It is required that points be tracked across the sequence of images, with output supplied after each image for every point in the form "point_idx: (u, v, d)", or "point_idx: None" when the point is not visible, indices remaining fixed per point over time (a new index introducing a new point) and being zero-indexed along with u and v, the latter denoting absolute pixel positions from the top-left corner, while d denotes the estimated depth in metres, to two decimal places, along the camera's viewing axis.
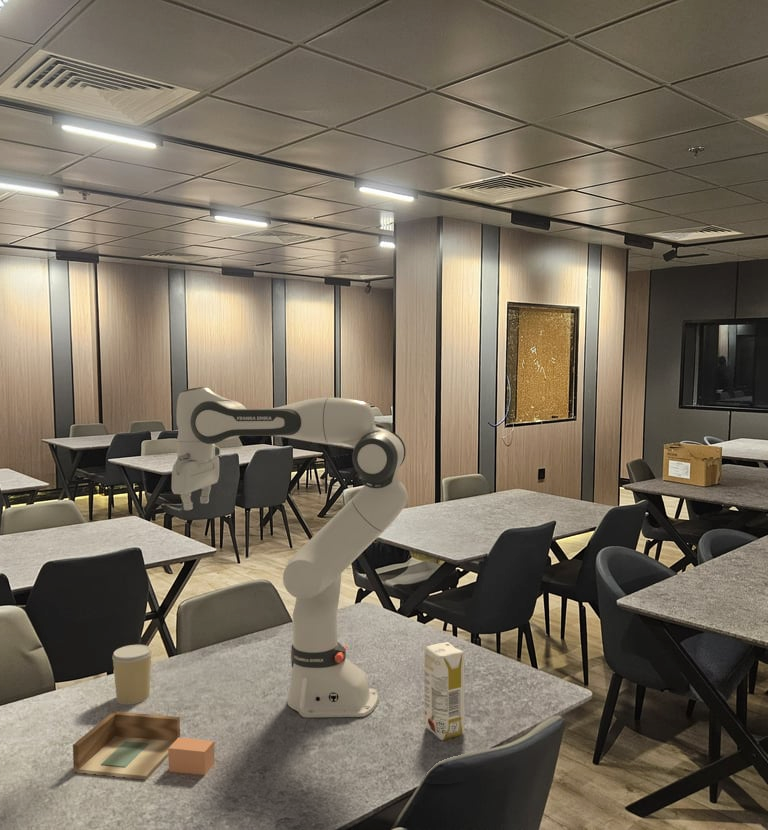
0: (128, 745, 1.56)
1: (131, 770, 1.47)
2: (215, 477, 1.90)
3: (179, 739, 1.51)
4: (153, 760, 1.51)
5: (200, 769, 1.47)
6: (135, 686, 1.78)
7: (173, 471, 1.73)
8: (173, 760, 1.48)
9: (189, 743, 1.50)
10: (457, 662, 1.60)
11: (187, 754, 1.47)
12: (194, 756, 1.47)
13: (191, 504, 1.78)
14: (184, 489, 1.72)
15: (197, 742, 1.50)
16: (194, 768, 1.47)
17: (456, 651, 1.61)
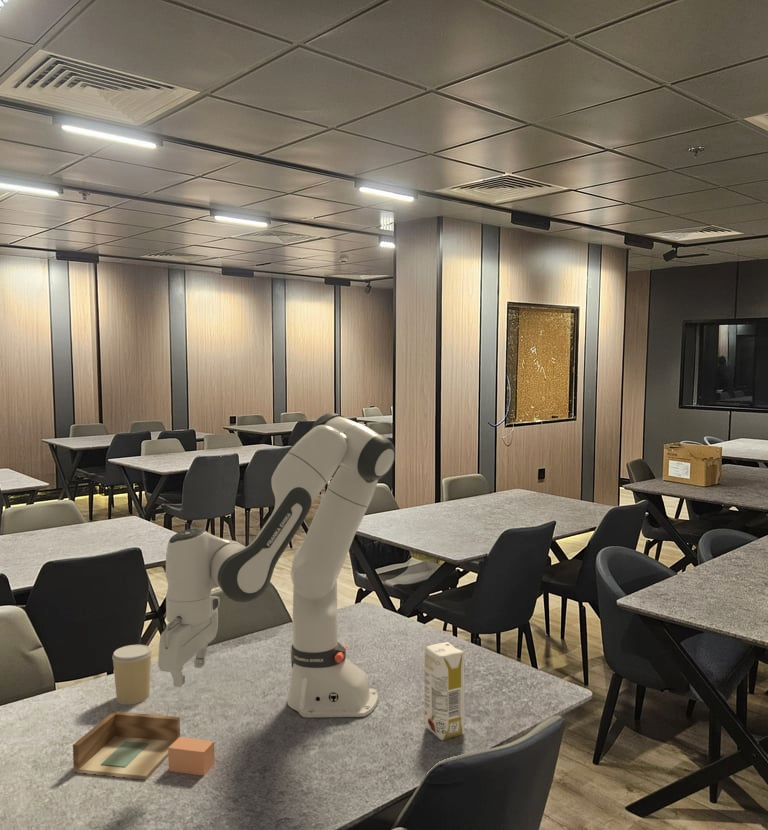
0: (128, 745, 1.56)
1: (131, 770, 1.47)
2: (213, 633, 1.55)
3: (179, 738, 1.52)
4: (153, 760, 1.51)
5: (199, 769, 1.47)
6: (135, 686, 1.78)
7: (161, 643, 1.39)
8: (173, 760, 1.48)
9: (189, 743, 1.50)
10: (457, 662, 1.60)
11: (186, 754, 1.47)
12: (193, 756, 1.47)
13: (183, 678, 1.44)
14: (174, 667, 1.38)
15: (197, 742, 1.50)
16: (193, 768, 1.47)
17: (456, 651, 1.61)
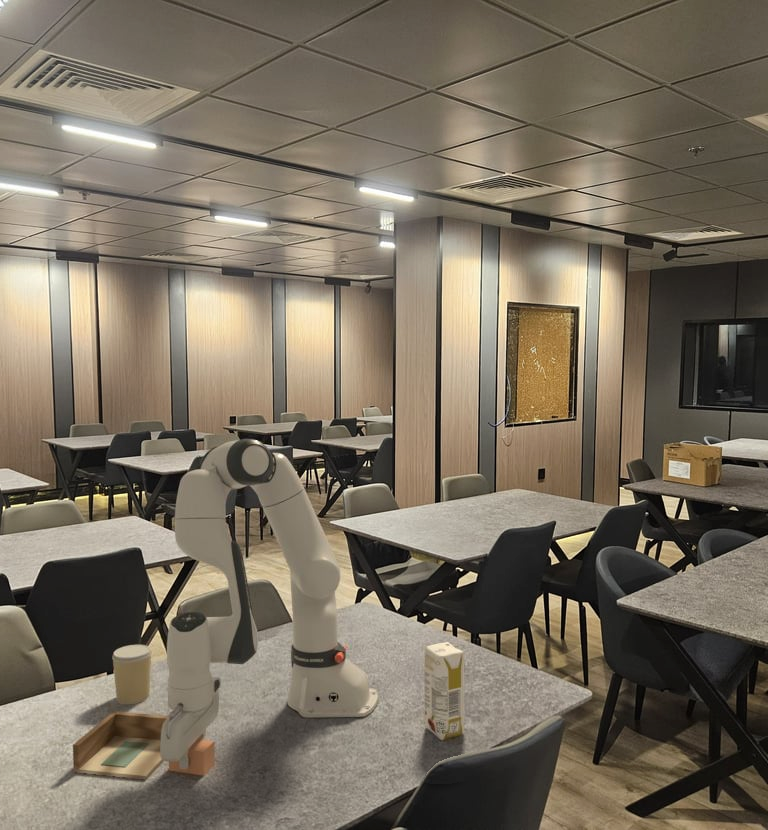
0: (128, 745, 1.56)
1: (131, 770, 1.47)
2: (214, 713, 1.56)
3: None
4: (153, 760, 1.51)
5: (199, 769, 1.46)
6: (135, 686, 1.78)
7: (162, 733, 1.40)
8: None
9: None
10: (457, 662, 1.60)
11: None
12: (193, 755, 1.47)
13: (189, 760, 1.46)
14: (176, 757, 1.39)
15: (197, 741, 1.50)
16: (193, 768, 1.47)
17: (456, 651, 1.61)
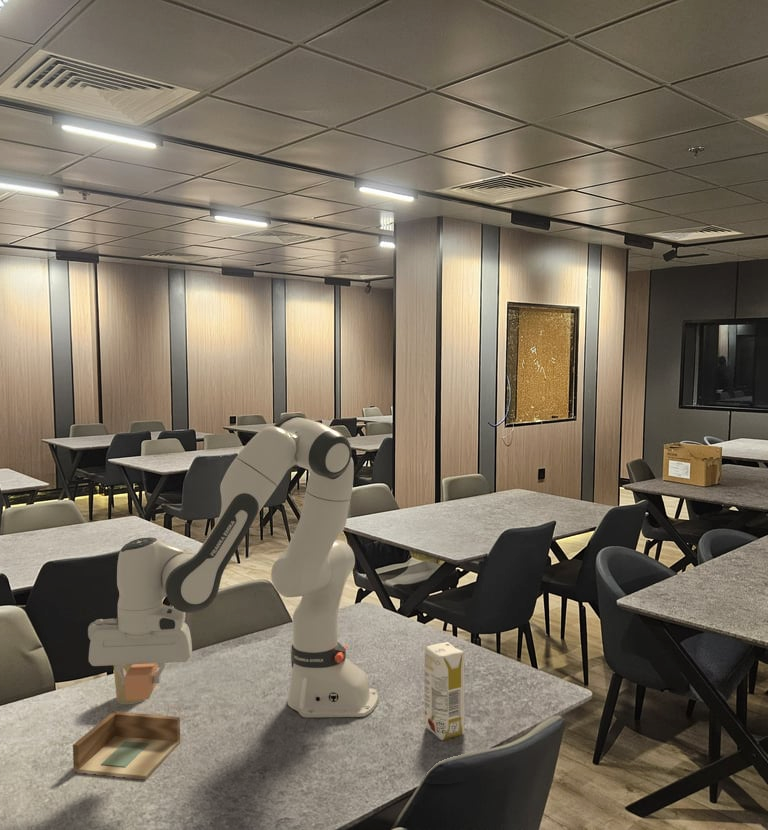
0: (128, 745, 1.56)
1: (131, 770, 1.47)
2: (178, 655, 1.49)
3: None
4: (153, 760, 1.51)
5: None
6: None
7: None
8: None
9: (143, 665, 1.50)
10: (457, 662, 1.60)
11: None
12: None
13: None
14: (89, 660, 1.47)
15: (145, 668, 1.49)
16: None
17: (456, 651, 1.61)
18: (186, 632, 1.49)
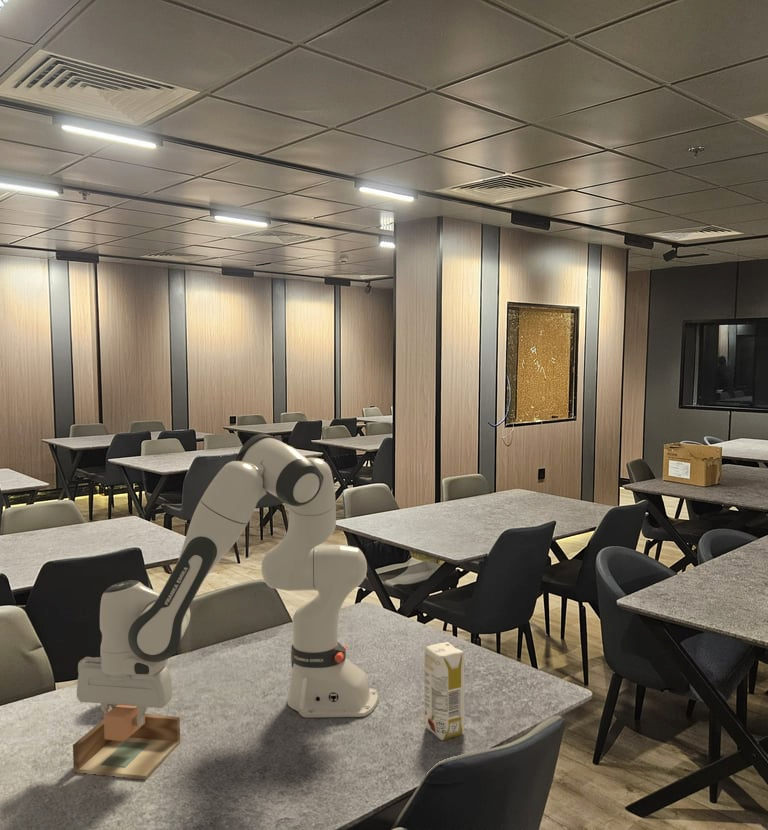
0: (128, 745, 1.56)
1: (131, 770, 1.47)
2: (154, 700, 1.49)
3: None
4: (153, 760, 1.51)
5: None
6: None
7: None
8: None
9: (127, 706, 1.53)
10: (457, 662, 1.60)
11: None
12: None
13: None
14: (77, 696, 1.52)
15: (126, 710, 1.51)
16: None
17: (456, 651, 1.61)
18: (162, 678, 1.49)
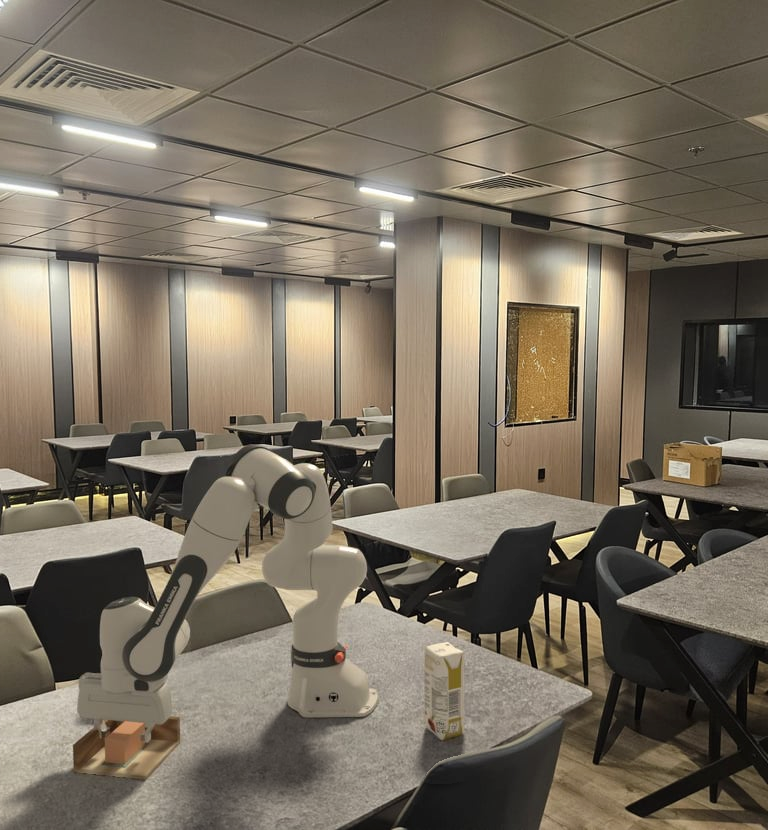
0: None
1: (131, 770, 1.47)
2: (154, 717, 1.50)
3: (140, 723, 1.56)
4: (153, 760, 1.51)
5: None
6: None
7: None
8: None
9: (128, 728, 1.54)
10: (457, 662, 1.60)
11: None
12: None
13: (103, 733, 1.53)
14: (77, 712, 1.53)
15: (126, 732, 1.52)
16: None
17: (456, 651, 1.61)
18: (162, 695, 1.50)
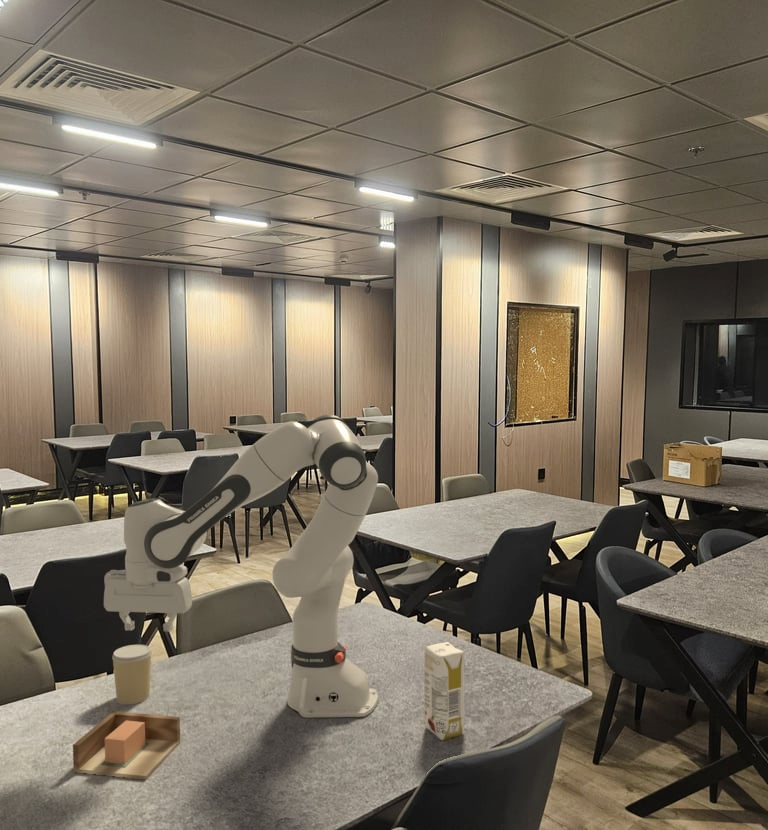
0: None
1: (131, 770, 1.47)
2: (175, 606, 1.61)
3: (140, 723, 1.56)
4: (153, 760, 1.51)
5: None
6: (135, 686, 1.78)
7: None
8: None
9: (128, 728, 1.54)
10: (457, 662, 1.60)
11: None
12: None
13: (128, 625, 1.65)
14: (104, 606, 1.65)
15: (126, 732, 1.52)
16: None
17: (456, 651, 1.61)
18: (183, 586, 1.62)
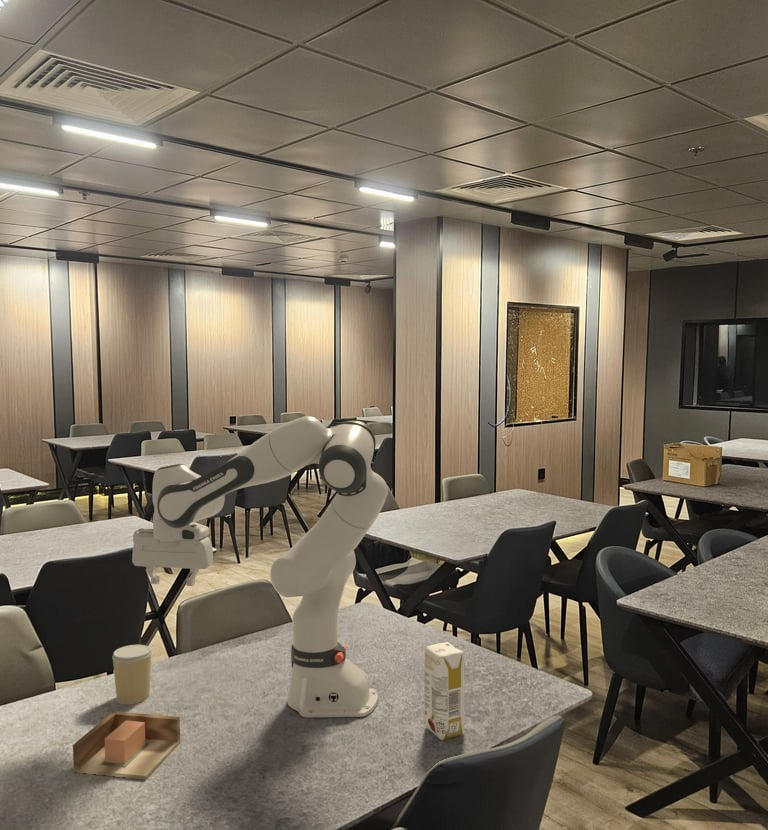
0: None
1: (131, 770, 1.47)
2: (198, 562, 1.76)
3: (140, 723, 1.56)
4: (153, 760, 1.51)
5: None
6: (135, 686, 1.78)
7: None
8: None
9: (128, 728, 1.54)
10: (457, 662, 1.60)
11: None
12: None
13: (154, 579, 1.79)
14: (132, 561, 1.80)
15: (126, 732, 1.52)
16: None
17: (456, 651, 1.61)
18: (205, 544, 1.76)
